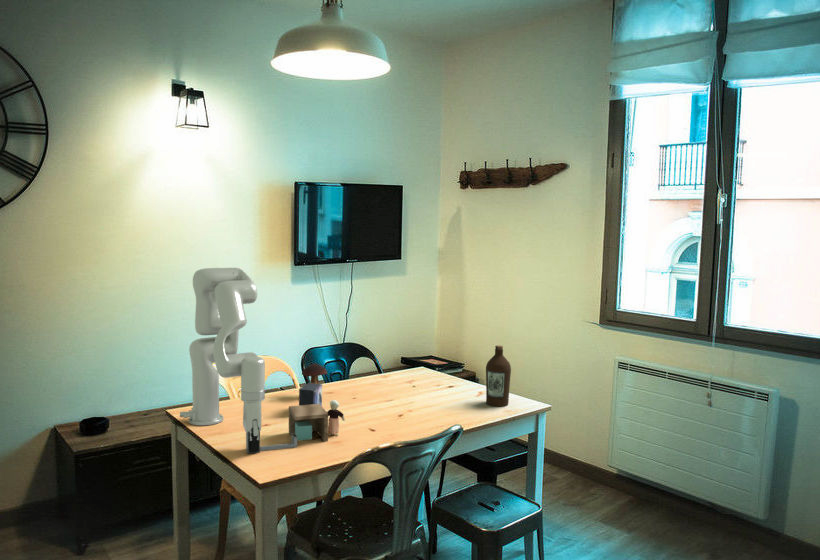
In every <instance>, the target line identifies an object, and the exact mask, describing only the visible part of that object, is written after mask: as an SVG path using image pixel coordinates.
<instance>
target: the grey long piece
mask: <svg viewBox="0 0 820 560" xmlns="http://www.w3.org/2000/svg"><path fill="white" fill-rule="evenodd" d="M251 431H253V429H251ZM252 434H253V433H252ZM290 435H291V442H289V443H287V442H286V443H279V444H271V445H270V444H268V445H261V430H260V431H259V452H251V453H250V452H249V440H250V431H249V432H246V431H245V451H246V454H247V455H251V454H259V453H261V452H264V451H274V450H283V449H292V448H298V440H297V436H296V434H295V433H291V434H290Z"/></svg>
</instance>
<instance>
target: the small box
mask: <svg viewBox="0 0 820 560" xmlns="http://www.w3.org/2000/svg"><path fill="white" fill-rule="evenodd" d="M311 404H320V405H321V406H322V407H323V384H321V383H319V384H315V383H310V382H307V383H306V384H305V385H303V386H302V387H300V388H299V391H298V406H299V405H311Z"/></svg>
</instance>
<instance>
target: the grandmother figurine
mask: <svg viewBox="0 0 820 560" xmlns="http://www.w3.org/2000/svg"><path fill="white" fill-rule="evenodd" d="M329 405H330V409H329V410H327V411H326V412H327V413H328V437H329V436H332V435H333V437H337V436H339V430H340V429H339V428H340V419H339V417H340V418H341V420H342V421H346V418H345V415H344V414H343V412H342V411H340V410H338V408H339V407H340V403H339V401H337V400H336V399H331V401H330V403H329Z"/></svg>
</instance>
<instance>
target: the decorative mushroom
mask: <svg viewBox="0 0 820 560" xmlns="http://www.w3.org/2000/svg"><path fill="white" fill-rule="evenodd" d="M327 374H328V371H327V369H326V368H325V367H324V366H322V365H321V364H319V363H315V362H314V363H311V364H309V365H307V366H306V367H305V368H304V369H303V370H302V372H301V375H302V376H304V377H310V380H309V383H315V384H320V382H319V381H320V380H319V377H320V376H323V375H327Z"/></svg>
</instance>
